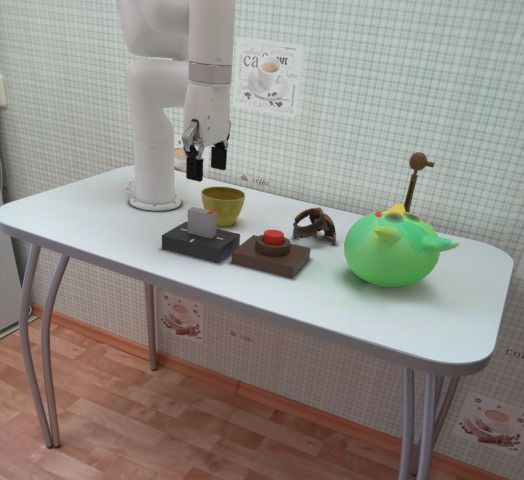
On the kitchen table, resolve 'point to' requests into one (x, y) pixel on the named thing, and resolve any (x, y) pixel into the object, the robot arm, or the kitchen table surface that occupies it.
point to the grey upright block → (202, 222)
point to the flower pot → (223, 203)
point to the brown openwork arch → (314, 224)
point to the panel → (200, 243)
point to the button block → (271, 256)
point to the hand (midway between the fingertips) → (206, 174)
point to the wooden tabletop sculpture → (415, 175)
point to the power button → (273, 237)
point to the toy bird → (393, 247)
